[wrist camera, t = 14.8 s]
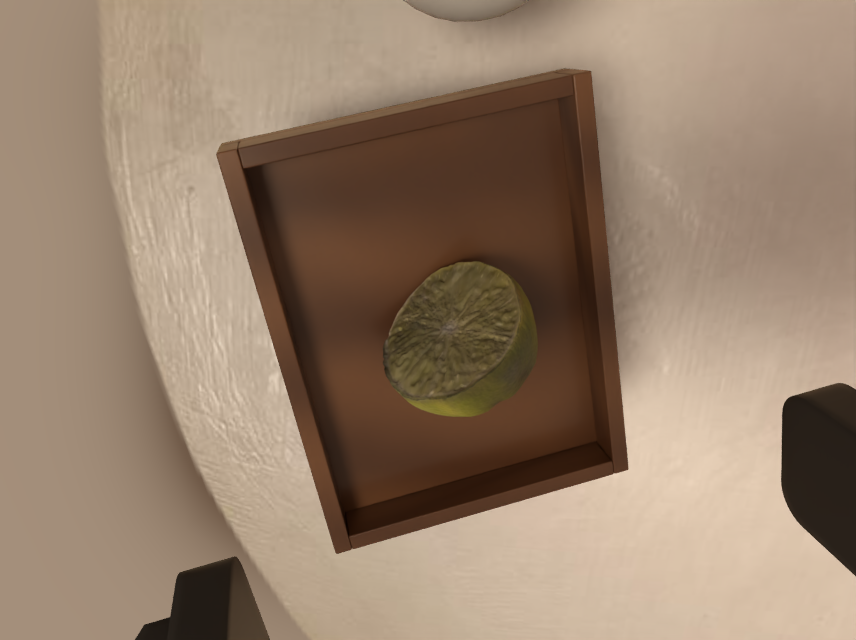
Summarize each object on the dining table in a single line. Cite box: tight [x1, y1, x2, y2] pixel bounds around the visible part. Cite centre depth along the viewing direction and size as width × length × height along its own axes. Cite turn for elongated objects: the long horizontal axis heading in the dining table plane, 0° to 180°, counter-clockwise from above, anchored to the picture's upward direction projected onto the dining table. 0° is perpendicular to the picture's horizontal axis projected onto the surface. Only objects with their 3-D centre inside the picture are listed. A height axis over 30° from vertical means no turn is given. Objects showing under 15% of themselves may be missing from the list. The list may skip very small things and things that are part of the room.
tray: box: [216, 68, 628, 554], centre depth 27 cm, size 14×11×8 cm
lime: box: [383, 261, 538, 417], centre depth 23 cm, size 4×5×5 cm
